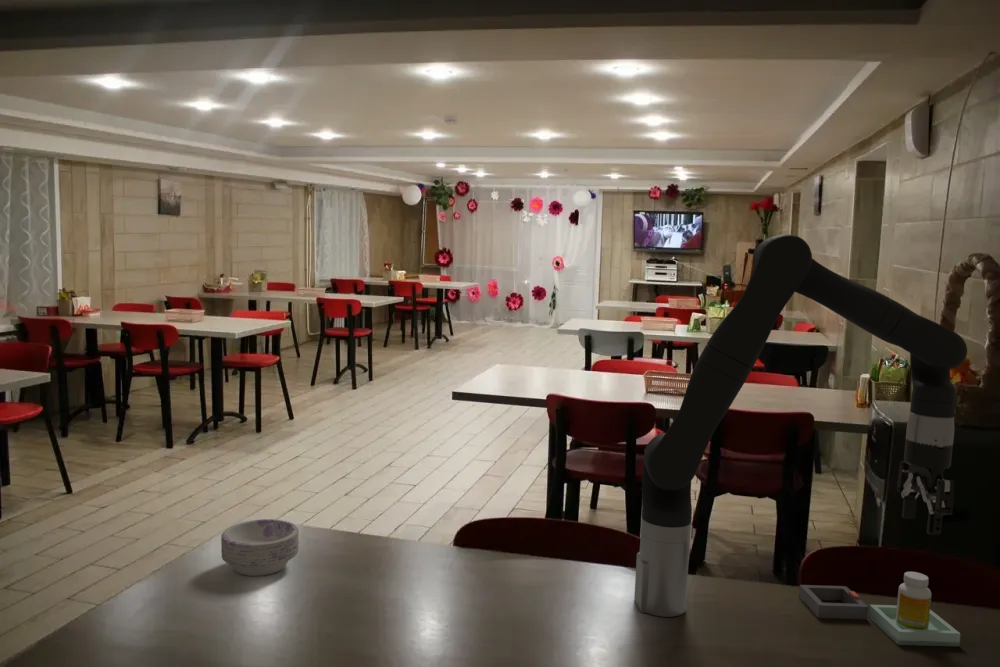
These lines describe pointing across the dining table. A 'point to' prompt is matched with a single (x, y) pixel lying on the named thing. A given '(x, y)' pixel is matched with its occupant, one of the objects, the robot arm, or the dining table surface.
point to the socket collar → (846, 610)
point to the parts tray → (934, 636)
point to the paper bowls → (259, 546)
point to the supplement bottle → (913, 602)
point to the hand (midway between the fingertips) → (920, 526)
